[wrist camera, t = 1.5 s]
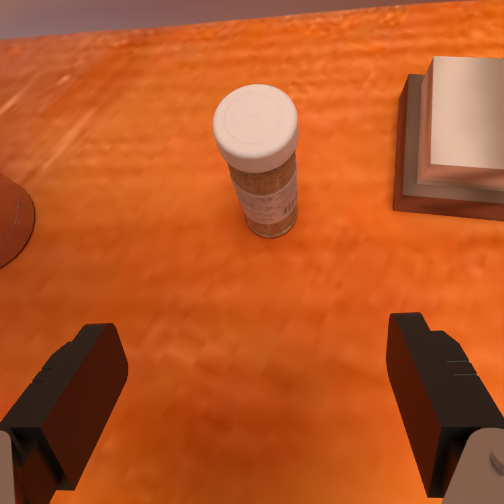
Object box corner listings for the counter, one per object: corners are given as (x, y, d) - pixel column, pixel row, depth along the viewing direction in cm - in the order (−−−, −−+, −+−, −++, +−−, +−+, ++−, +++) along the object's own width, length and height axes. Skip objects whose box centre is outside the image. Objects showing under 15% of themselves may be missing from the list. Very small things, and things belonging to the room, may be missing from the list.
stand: (393, 210, 31) (414, 175, 26) (399, 98, 34) (420, 44, 28) (538, 224, 30) (596, 190, 24) (532, 105, 33) (582, 49, 27)
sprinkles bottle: (270, 181, 33) (253, 65, 20) (308, 213, 32) (317, 111, 19) (233, 216, 33) (193, 121, 20) (271, 251, 31) (254, 172, 19)
